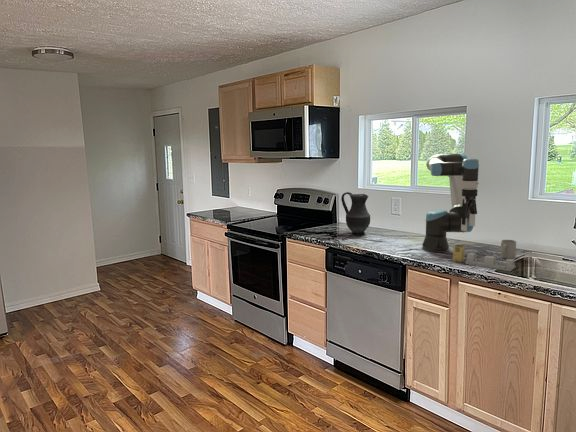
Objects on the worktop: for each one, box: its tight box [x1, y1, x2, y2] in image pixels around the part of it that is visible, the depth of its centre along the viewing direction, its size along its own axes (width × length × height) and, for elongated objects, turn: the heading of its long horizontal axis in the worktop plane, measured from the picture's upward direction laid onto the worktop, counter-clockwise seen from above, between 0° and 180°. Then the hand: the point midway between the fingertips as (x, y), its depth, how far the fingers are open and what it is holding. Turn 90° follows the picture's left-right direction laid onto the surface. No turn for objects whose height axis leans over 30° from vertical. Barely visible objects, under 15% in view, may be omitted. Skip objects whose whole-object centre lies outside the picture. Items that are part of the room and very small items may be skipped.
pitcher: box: [340, 191, 371, 237], centre depth 296 cm, size 17×21×30 cm
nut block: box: [452, 244, 466, 263], centre depth 226 cm, size 4×4×8 cm
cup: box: [500, 239, 517, 260], centre depth 228 cm, size 7×10×9 cm
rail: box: [464, 252, 517, 272], centre depth 216 cm, size 22×9×5 cm, turn 47°
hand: (468, 228), depth 224 cm, fingers open, 13 cm apart
